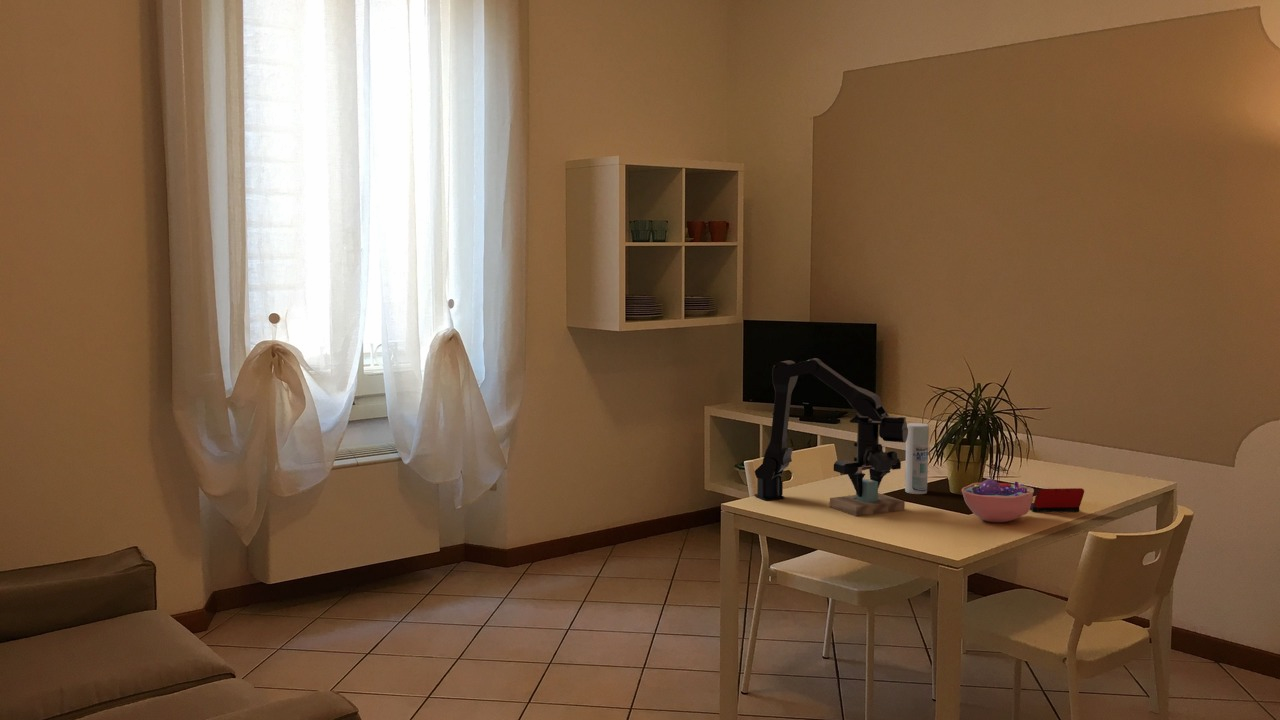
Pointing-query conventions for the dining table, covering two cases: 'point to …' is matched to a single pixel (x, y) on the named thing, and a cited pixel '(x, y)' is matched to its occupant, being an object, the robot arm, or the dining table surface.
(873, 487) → the keyed peg
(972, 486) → the cell model
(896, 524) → the dining table surface
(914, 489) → the spray can
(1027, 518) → the dining table surface
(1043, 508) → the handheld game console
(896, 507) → the socket block
